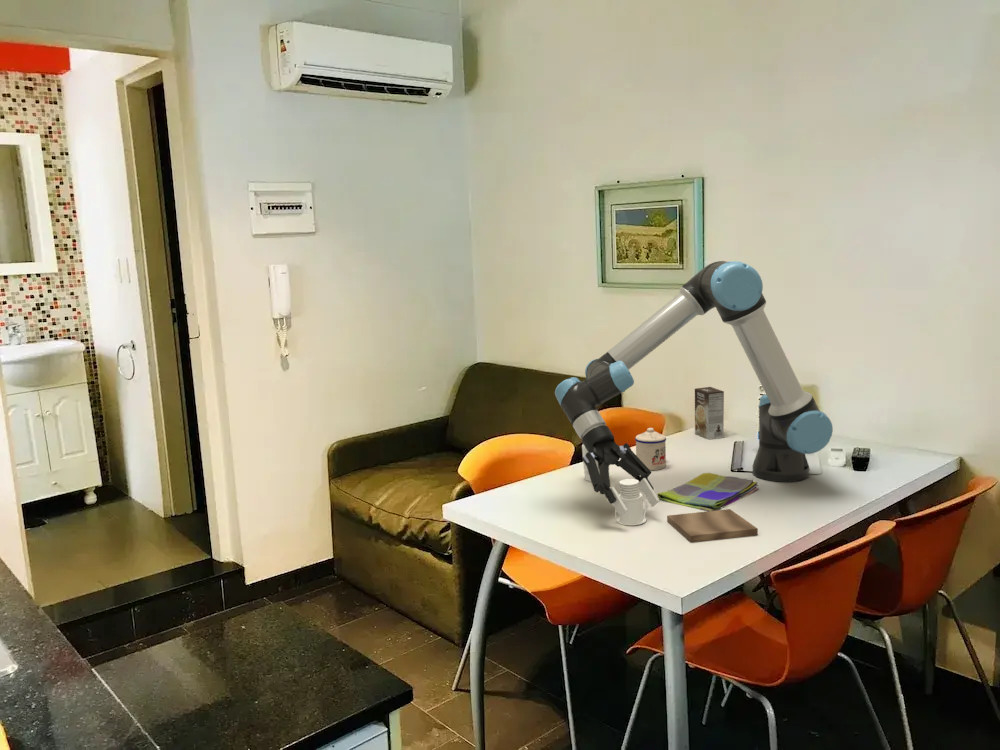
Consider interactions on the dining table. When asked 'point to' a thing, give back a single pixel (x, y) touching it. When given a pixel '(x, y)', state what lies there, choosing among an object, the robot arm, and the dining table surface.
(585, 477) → the white cup
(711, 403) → the coffee box
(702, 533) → the walnut board
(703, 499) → the dish towel
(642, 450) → the teacup with lid
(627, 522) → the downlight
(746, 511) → the dining table surface
